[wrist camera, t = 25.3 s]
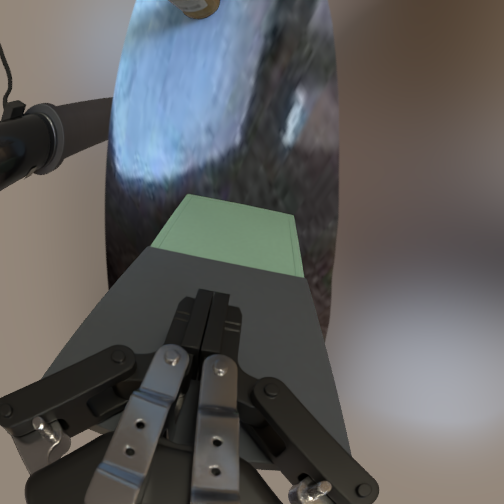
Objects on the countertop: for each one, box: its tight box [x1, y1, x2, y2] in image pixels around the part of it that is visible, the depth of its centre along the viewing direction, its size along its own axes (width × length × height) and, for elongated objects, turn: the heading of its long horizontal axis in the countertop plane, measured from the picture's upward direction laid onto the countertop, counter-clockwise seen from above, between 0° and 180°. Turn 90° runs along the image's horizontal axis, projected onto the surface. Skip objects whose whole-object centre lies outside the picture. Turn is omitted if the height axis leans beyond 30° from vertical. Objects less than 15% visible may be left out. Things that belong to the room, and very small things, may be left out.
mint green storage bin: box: [150, 194, 304, 278], centre depth 34 cm, size 16×14×13 cm
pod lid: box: [42, 246, 351, 471], centre depth 16 cm, size 16×14×1 cm
